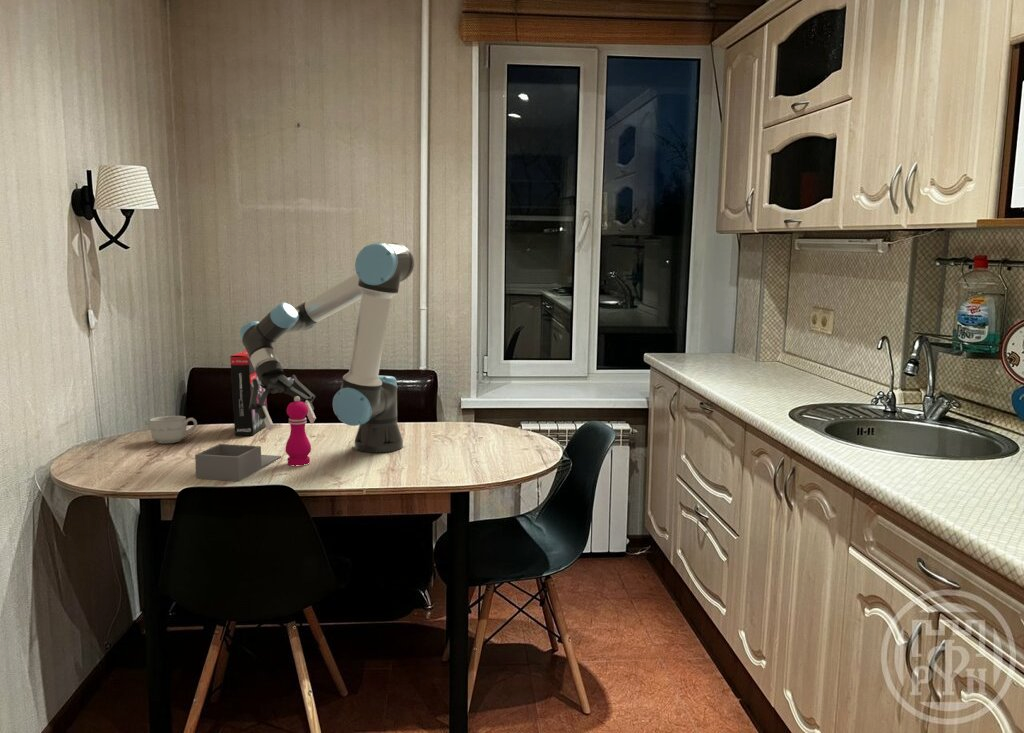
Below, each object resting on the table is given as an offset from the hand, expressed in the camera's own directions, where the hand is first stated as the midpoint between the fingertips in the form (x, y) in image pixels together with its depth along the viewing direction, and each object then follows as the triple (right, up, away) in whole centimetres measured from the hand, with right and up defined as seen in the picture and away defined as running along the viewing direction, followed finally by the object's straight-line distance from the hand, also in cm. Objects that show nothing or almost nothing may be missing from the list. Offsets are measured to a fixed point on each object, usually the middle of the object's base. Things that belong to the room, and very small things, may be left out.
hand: (292, 424), depth 235 cm
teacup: (-45, -8, +25) cm, 52 cm away
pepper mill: (+2, -12, +1) cm, 12 cm away
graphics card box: (-25, -6, +42) cm, 49 cm away
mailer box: (-13, -12, -4) cm, 19 cm away
